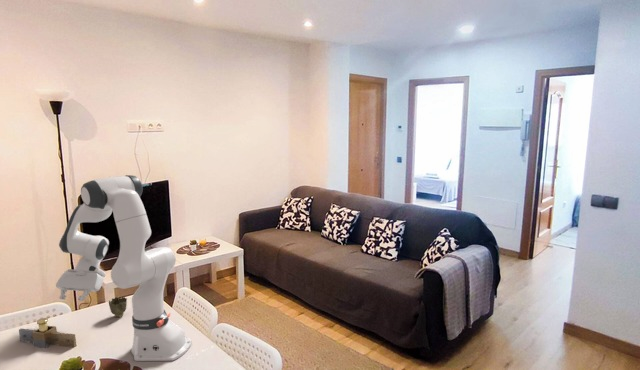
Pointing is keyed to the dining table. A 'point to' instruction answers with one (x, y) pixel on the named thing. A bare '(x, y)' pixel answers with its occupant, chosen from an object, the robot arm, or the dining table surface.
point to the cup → (118, 306)
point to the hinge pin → (42, 325)
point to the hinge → (47, 337)
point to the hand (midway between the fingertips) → (71, 299)
